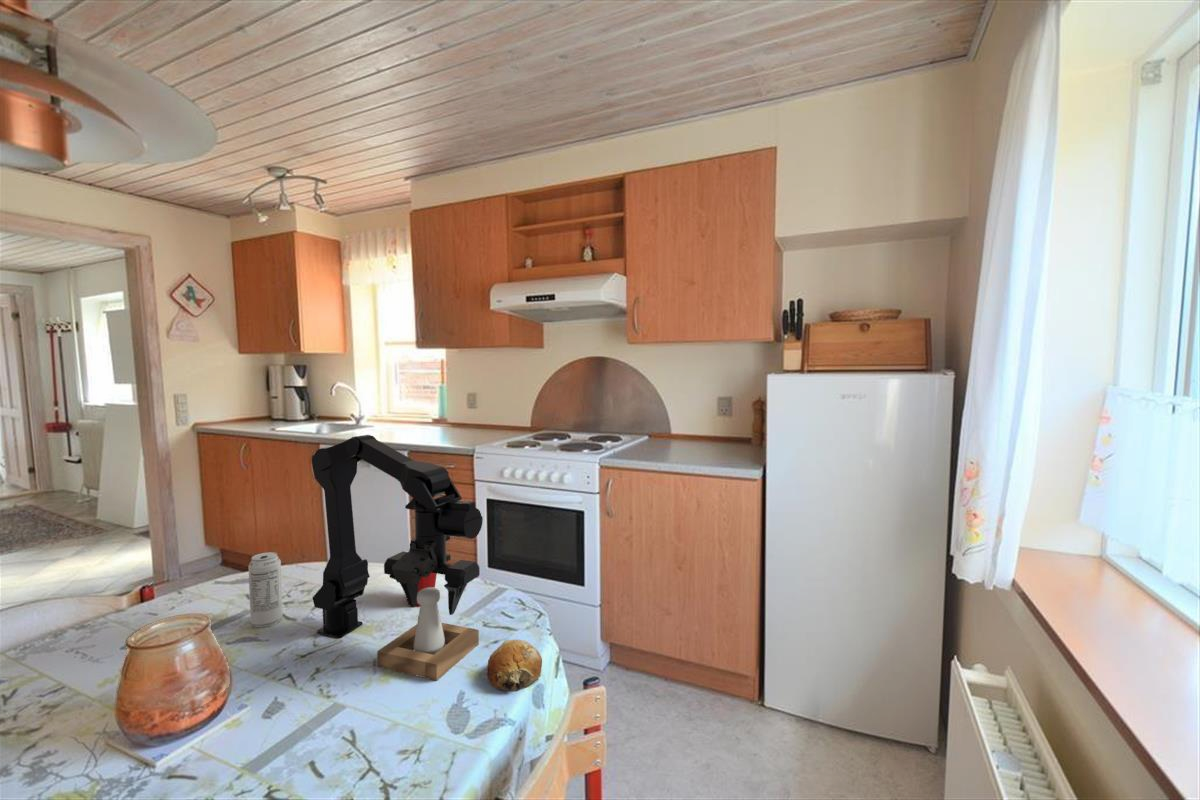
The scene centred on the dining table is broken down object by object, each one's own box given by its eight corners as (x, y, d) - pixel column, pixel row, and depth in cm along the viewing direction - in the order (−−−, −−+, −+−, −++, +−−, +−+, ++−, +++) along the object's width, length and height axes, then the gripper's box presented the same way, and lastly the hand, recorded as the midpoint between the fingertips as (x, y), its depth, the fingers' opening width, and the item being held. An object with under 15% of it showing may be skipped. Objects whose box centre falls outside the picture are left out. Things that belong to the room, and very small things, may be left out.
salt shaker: (435, 664, 98) (433, 597, 98) (408, 661, 100) (406, 595, 99) (450, 648, 104) (449, 585, 103) (424, 645, 105) (423, 582, 105)
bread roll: (547, 690, 96) (554, 643, 99) (523, 697, 87) (532, 645, 90) (499, 680, 100) (508, 635, 102) (472, 685, 91) (482, 635, 93)
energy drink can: (286, 614, 119) (283, 550, 119) (278, 626, 114) (276, 559, 113) (255, 618, 117) (253, 553, 117) (246, 630, 112) (244, 562, 111)
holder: (377, 666, 98) (377, 651, 98) (424, 633, 110) (424, 619, 110) (436, 680, 93) (436, 664, 93) (478, 644, 106) (478, 629, 106)
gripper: (361, 539, 97) (363, 621, 98) (444, 551, 91) (446, 638, 91) (403, 523, 108) (404, 597, 108) (480, 532, 101) (481, 611, 102)
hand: (432, 610), depth 102 cm, fingers open, 9 cm apart
